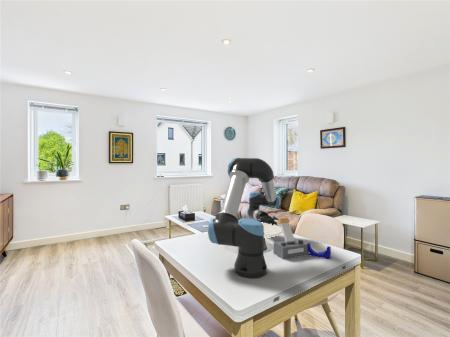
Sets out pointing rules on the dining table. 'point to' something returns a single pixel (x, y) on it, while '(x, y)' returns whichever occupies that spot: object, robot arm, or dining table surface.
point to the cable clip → (324, 254)
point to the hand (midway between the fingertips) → (281, 224)
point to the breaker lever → (286, 230)
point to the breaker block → (290, 249)
